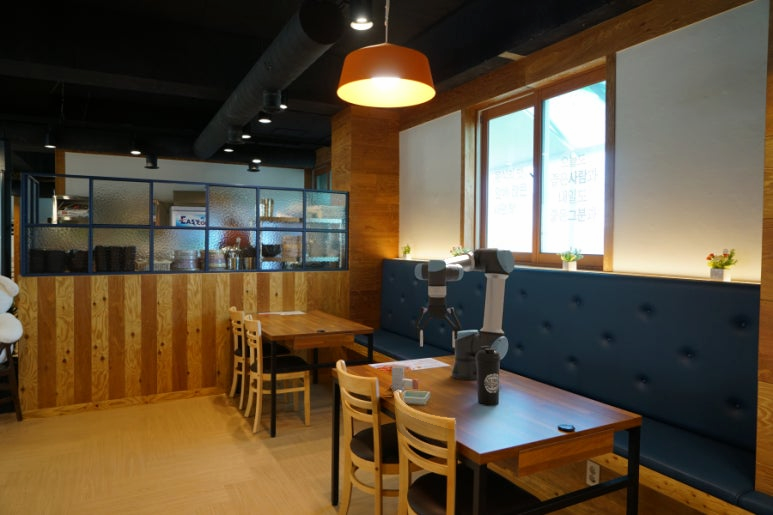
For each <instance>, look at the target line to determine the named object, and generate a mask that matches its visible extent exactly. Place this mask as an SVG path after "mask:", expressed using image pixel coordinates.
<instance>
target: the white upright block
mask: <svg viewBox="0 0 773 515" xmlns="http://www.w3.org/2000/svg"><path fill="white" fill-rule="evenodd" d="M391 376H392V378H391V383H392V384H391V385H392V389H391V392H394V391H396V390H398V389H399V390H402V391H403V392H404V391H405V389H406V388H405V379H406V378H405V366H404V365H394V366H392V367H391Z"/></svg>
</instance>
